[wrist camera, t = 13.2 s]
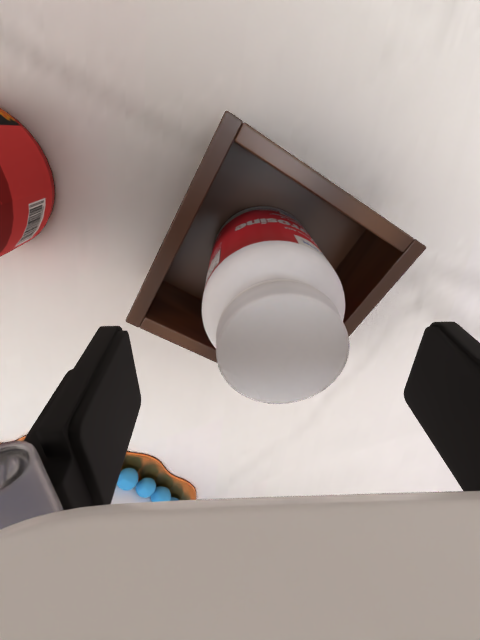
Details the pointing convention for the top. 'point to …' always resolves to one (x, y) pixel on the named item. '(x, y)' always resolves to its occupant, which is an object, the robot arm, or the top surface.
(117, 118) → the top surface
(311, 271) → the pill bottle
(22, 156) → the canned food
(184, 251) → the holder
